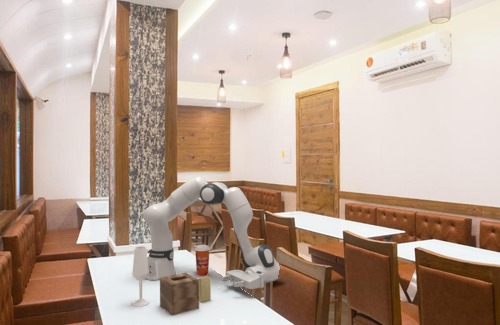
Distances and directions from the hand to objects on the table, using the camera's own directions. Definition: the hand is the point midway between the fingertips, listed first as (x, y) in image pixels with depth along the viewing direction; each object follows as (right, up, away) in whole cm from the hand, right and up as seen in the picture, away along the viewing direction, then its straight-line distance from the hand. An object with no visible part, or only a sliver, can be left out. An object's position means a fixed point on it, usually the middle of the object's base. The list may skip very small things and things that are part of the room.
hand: (228, 282), depth 171 cm
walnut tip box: (-20, -6, -14) cm, 25 cm away
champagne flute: (-37, -6, -9) cm, 39 cm away
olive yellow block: (-10, -6, -7) cm, 14 cm away
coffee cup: (-16, -6, +32) cm, 36 cm away
